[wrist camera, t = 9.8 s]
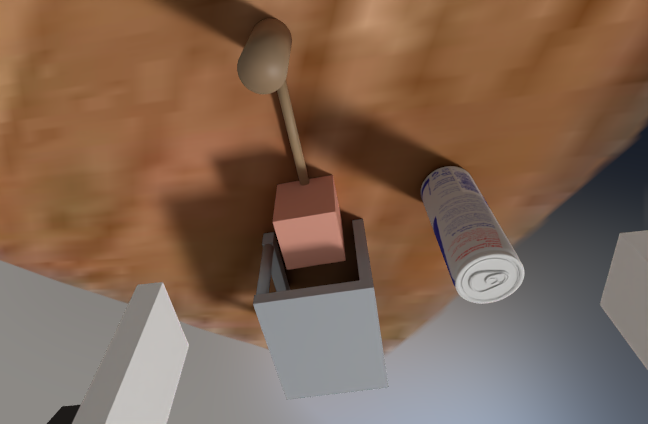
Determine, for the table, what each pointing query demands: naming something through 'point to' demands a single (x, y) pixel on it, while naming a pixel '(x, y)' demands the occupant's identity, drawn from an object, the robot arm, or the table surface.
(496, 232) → the beverage can
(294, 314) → the box
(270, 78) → the block
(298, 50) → the table surface
